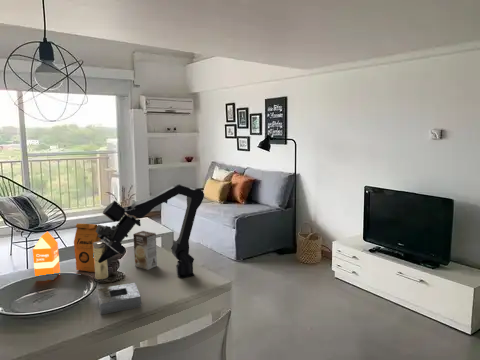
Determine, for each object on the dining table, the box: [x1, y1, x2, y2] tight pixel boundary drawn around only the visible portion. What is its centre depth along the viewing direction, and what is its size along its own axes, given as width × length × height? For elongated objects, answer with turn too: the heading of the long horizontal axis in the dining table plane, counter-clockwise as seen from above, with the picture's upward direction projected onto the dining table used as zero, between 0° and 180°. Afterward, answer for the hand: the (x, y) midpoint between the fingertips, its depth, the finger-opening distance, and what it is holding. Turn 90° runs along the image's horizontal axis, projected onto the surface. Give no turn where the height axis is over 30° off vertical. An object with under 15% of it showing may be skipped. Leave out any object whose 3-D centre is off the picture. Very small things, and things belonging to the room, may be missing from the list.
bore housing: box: [97, 282, 142, 315], centre depth 143 cm, size 14×14×4 cm
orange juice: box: [32, 231, 61, 277], centre depth 168 cm, size 8×9×20 cm
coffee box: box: [132, 230, 158, 271], centre depth 180 cm, size 9×6×16 cm
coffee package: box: [73, 223, 101, 273], centre depth 176 cm, size 10×12×22 cm
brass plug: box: [93, 241, 109, 280], centre depth 151 cm, size 5×5×14 cm
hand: (97, 260), depth 150 cm, fingers closed on brass plug, 5 cm apart
